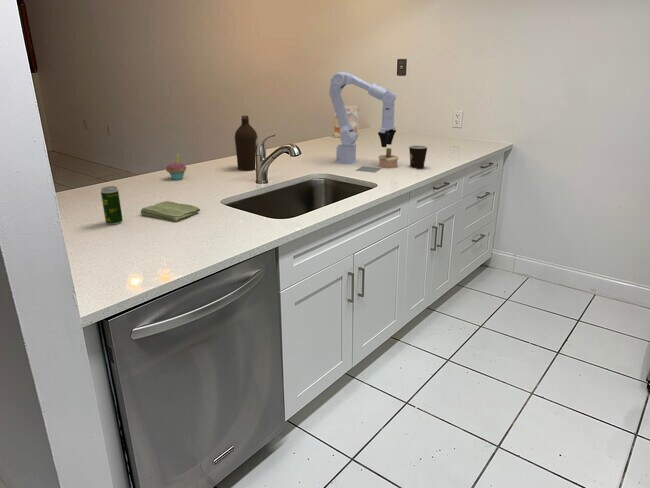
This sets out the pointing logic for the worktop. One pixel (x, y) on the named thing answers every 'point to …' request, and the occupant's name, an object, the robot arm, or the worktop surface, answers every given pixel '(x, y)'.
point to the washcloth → (169, 211)
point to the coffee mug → (417, 156)
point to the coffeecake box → (353, 119)
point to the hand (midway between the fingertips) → (386, 145)
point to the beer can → (111, 205)
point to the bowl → (387, 164)
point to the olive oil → (245, 145)
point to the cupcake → (176, 169)
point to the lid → (388, 156)
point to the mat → (368, 169)
